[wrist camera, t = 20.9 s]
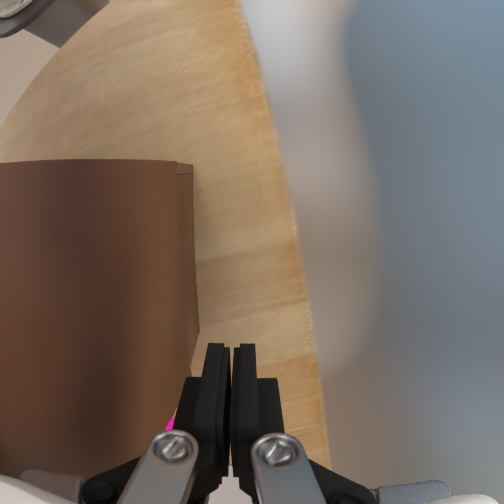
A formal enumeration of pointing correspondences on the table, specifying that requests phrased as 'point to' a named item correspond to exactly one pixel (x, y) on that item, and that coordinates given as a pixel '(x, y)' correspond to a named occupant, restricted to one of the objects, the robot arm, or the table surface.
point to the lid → (88, 312)
